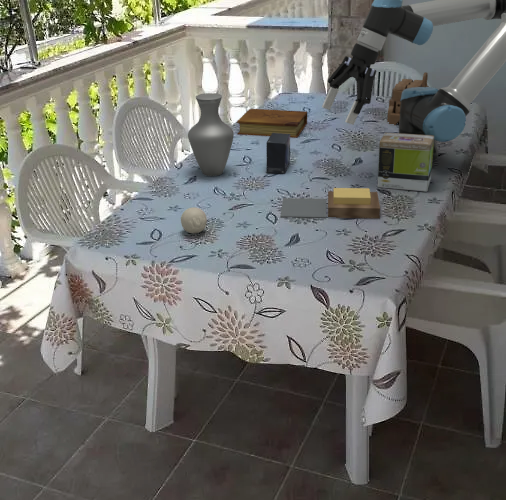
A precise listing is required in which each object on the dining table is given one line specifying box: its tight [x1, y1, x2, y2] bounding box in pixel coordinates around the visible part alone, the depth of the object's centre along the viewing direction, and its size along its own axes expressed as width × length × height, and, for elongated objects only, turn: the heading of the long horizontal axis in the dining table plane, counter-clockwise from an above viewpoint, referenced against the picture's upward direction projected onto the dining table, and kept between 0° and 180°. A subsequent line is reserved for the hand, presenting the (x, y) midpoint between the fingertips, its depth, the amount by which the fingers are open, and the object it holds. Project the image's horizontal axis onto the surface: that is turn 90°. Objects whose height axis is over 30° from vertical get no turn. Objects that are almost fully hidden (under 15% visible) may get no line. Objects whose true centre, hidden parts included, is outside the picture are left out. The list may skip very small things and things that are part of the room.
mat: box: [280, 197, 327, 219], centre depth 195 cm, size 12×13×1 cm
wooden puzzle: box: [386, 71, 430, 126], centre depth 269 cm, size 22×15×19 cm, turn 154°
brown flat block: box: [327, 190, 381, 220], centre depth 193 cm, size 14×12×3 cm
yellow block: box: [333, 187, 371, 205], centre depth 192 cm, size 10×7×2 cm
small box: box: [265, 133, 291, 175], centre depth 223 cm, size 11×6×10 cm, turn 168°
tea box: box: [377, 132, 434, 193], centre depth 207 cm, size 15×10×15 cm
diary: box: [236, 108, 308, 139], centre depth 264 cm, size 23×19×6 cm
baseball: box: [180, 207, 208, 234], centre depth 181 cm, size 7×7×7 cm
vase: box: [187, 92, 235, 177], centre depth 218 cm, size 14×14×25 cm
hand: (337, 115), depth 205 cm, fingers open, 13 cm apart
